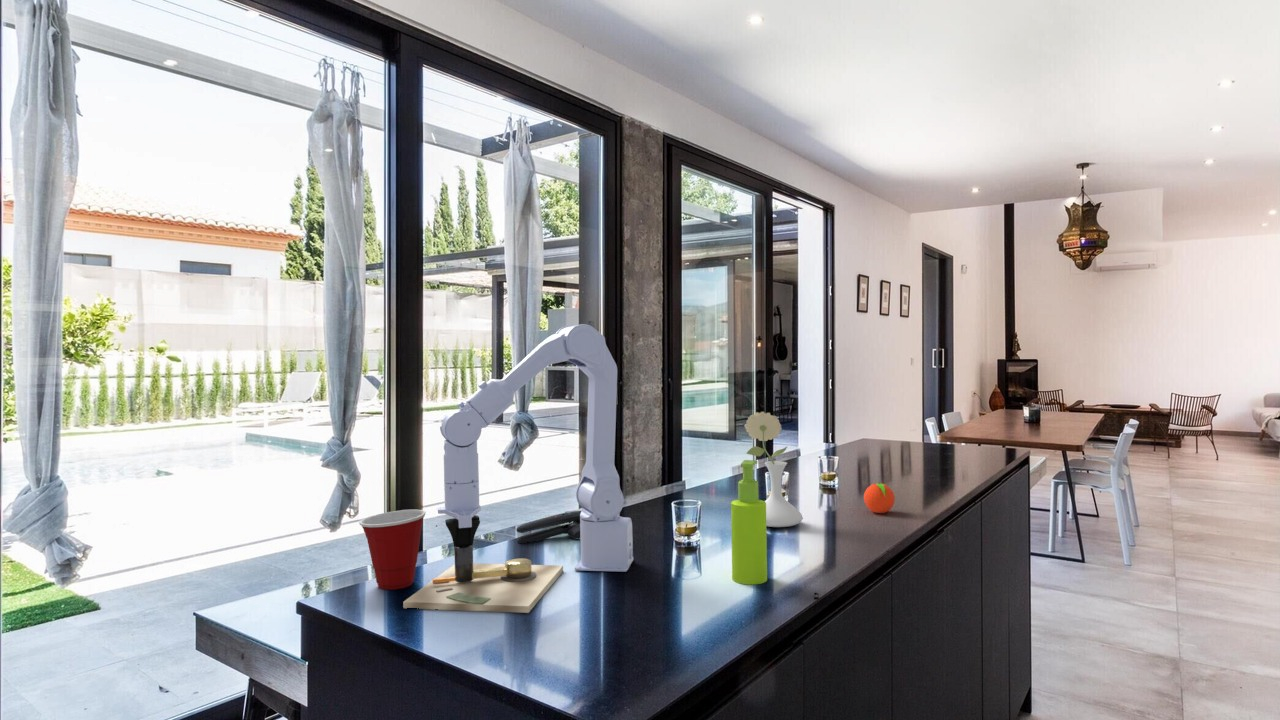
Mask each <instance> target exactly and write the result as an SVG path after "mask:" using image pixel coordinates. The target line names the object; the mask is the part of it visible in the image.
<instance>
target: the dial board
mask: <svg viewBox="0 0 1280 720" xmlns="http://www.w3.org/2000/svg"><path fill="white" fill-rule="evenodd" d="M496 567H505V563H477V562H476V563H475V562H473V570H476V569H486V568H496ZM531 568H532V573H531V575H529V576H526V577H521V578H511V577H507V576H496V577H487V578H477V579H473V580H472V581H468V582H456V581H450V582H440V583H433V580H431V581H430V582H428V583H427V584H426V585H424V586H422V587H421V588H420V589H419V590H417V591H416V592H415V593H413V594H412V595H410V596H409V597H407V598H406V599H405V600H404V601H403V603H402V604H403V605H402V607H403V608H402V609H407V608H417V609H416V610H435V609H438V611H442V610H443V611H464V612H465V611H466V612H467V611H468V612H490V613H491V612H494V613H495V612H496V613H519V614H520V613H522V614H523V613H525V614H529V613H530V612H531V610H533V608H534V607H535V606H536V605H537V604H538V602H539V601H540V600H541V599H542V598H543V596H544V595H545V594H546V593H547V591H549V589H550V588H551V587H552V585H553V584H554V583H555V582H556V580H557V579H558V578H559V577H560V576H561V575H562V574H563V572H564V565H557V564H556V565H553V564H552V565H551V564H550V565H549V564H531ZM449 577H455V563H454V564H452V565H451V566H450V567H448V568H447V569H446V570H445V571H443V572H442V573H441V574H439V575H438V576H436V577H435V578H434V579H439V578H449ZM418 608H419V609H418Z"/></svg>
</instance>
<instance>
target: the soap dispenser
mask: <svg viewBox="0 0 1280 720" xmlns="http://www.w3.org/2000/svg"><path fill="white" fill-rule="evenodd" d="M755 465H758V461H757V460H755V459H744V460H743V461H742V462H741V463H740V468H742V478H741V480H738V482H737V486H738V487H737V489H738V490H737V491H738V493H737V494H738V497H737V498H738V499H734V500H732V501H731V502H730V514H731V515H730V516H731V517H730V518H731V519H730V520H731V521H730V522H731V523H730V525H731V529H730V530H731V575H732V576H731V578H732V581H733V582H735V583H738V584H742V585H751V586H752V585H753V586H754V585H760V584H764V583H766V582H767V581H768V557H767V556H768V549H767V548H768V547H767V545H768V544H767V542H768V541H767V540H768V539H767V538H768V537H767V526H766V502H765V501H766V500H762V499H759V482H758V481H757V480H756V479H754V466H755Z"/></svg>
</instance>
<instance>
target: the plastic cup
mask: <svg viewBox="0 0 1280 720" xmlns="http://www.w3.org/2000/svg"><path fill="white" fill-rule="evenodd" d="M425 516H426V511H425V510H423V509H401V510H395V511H387V512H384V513H378V514H374V515H371V516H367V517H365V518H362V519H361V520H359V522H358V524H359V525H360V526H361V527H362V529H363V532H364V534H365V538H366V540H367V544H368V549H369V554H370V558H371V559H370V560H371V562H372V568H373V569H374V576H375V580H376V583H377V588H379V589H381V590H390V591H391V590H399V589H404V588H408V587H411V586H412V585H413V583H414V580H415V575H416V566H417V563H418V558H419V557H418V556H419V548H420V540H421V534H422V528H423V521H424V518H425Z"/></svg>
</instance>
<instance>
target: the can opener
mask: <svg viewBox="0 0 1280 720" xmlns="http://www.w3.org/2000/svg"><path fill="white" fill-rule="evenodd" d="M581 511H582V510H577V511H570V510H566V511H565V513H561V514H555V515H551V516H547V517H544V518H540V519H536V520H533V521H530V522H528V523H527V522H526V523H524V524H522V525H519V526H518V527H517V528H516V529H515V530H516V532H517V533H519V534H523V533H527V532H531V533H528V534H525V535H521V536H519V537H518V538H517V543H519V544H528V543H527V542H529V543H535V542H534V541H536V542H539V541H544V540H546V539H549V538H553V537H557V536H560V535H564V534H565V535H568V536H569V537H570V538H572V539H574V538H580V513H581ZM539 529H540V530H539ZM541 529H542V530H541ZM536 530H539V531H536ZM533 531H535V532H533Z"/></svg>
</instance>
